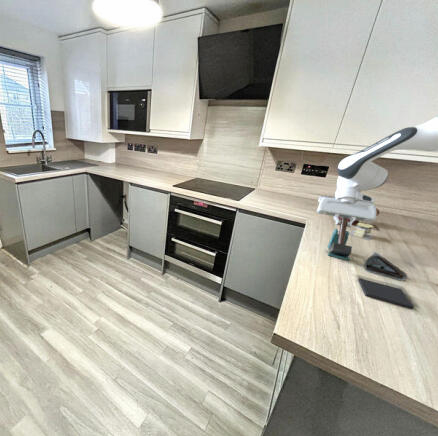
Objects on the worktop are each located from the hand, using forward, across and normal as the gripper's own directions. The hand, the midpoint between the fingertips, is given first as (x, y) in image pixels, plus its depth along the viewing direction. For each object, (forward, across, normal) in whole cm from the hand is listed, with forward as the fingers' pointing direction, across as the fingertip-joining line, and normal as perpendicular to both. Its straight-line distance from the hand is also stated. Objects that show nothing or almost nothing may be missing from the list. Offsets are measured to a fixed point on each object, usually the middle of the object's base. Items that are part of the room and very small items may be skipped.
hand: (343, 225), depth 101 cm
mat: (+30, +9, -14) cm, 34 cm away
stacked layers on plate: (-12, +15, +28) cm, 34 cm away
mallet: (+11, 0, +5) cm, 12 cm away
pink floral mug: (-26, +14, +42) cm, 52 cm away
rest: (+11, 0, +5) cm, 12 cm away
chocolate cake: (+17, +13, -1) cm, 21 cm away
